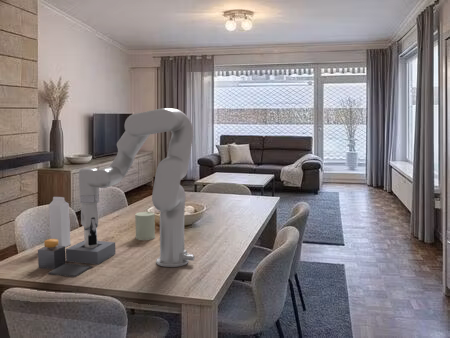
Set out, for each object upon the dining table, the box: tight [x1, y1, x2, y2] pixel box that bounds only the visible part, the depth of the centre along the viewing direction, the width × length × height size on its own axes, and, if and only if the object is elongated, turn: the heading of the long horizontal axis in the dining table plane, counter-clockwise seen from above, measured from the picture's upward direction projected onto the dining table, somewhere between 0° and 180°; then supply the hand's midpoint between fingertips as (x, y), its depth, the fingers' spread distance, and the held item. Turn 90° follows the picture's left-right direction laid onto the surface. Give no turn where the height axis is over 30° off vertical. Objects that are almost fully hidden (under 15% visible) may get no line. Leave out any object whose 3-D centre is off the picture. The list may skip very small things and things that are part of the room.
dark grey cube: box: [37, 246, 67, 270], centre depth 175 cm, size 7×7×7 cm
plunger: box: [43, 238, 58, 249], centre depth 175 cm, size 5×5×8 cm
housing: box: [65, 240, 117, 265], centre depth 185 cm, size 14×14×5 cm
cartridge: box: [83, 226, 98, 248], centre depth 185 cm, size 5×5×14 cm
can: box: [134, 211, 156, 241], centre depth 215 cm, size 9×9×12 cm
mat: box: [48, 262, 93, 278], centre depth 170 cm, size 11×11×1 cm
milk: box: [48, 196, 71, 248], centre depth 201 cm, size 6×6×22 cm
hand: (90, 242), depth 185 cm, fingers closed on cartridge, 5 cm apart
